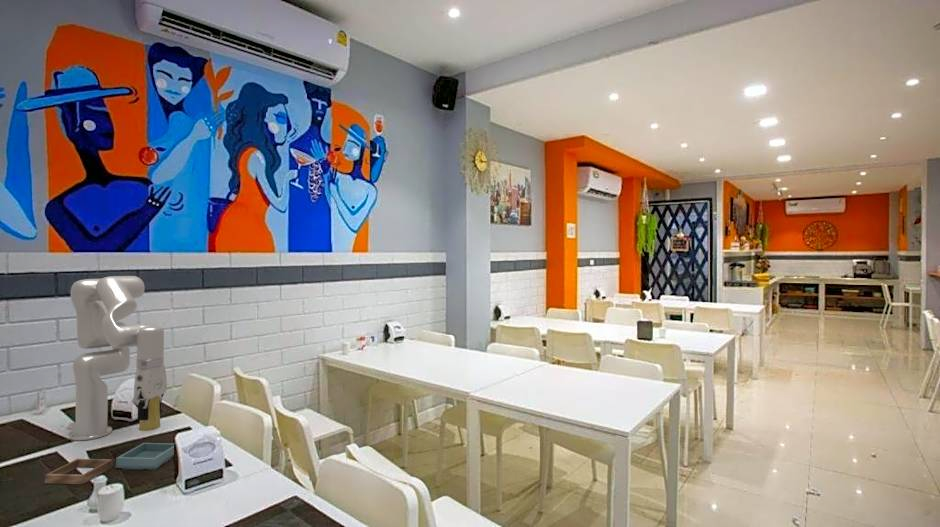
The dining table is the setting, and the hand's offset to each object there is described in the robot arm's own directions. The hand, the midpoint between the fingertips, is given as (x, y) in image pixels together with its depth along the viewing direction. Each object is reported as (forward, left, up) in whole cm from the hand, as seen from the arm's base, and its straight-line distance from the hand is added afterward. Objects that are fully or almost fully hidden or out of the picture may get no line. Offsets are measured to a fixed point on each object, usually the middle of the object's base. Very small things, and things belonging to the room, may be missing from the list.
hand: (149, 416), depth 157 cm
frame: (-14, -11, -15) cm, 23 cm away
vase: (0, 0, -4) cm, 4 cm away
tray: (0, 0, -15) cm, 15 cm away
